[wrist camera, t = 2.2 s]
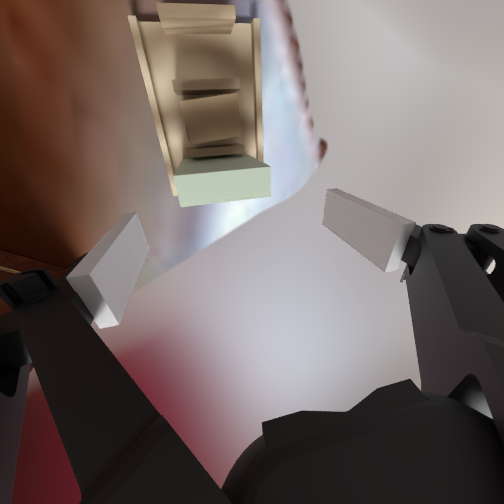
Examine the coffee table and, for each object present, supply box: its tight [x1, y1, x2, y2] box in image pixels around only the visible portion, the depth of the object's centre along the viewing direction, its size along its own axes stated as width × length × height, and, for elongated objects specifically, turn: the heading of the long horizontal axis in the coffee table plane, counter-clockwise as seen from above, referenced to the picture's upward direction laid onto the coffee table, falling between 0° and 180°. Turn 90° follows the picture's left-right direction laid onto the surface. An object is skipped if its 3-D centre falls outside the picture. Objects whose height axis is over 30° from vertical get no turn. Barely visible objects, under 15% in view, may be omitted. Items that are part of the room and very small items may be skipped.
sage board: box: [173, 153, 271, 207], centre depth 28 cm, size 3×10×14 cm, turn 93°
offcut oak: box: [179, 93, 243, 145], centre depth 26 cm, size 4×7×3 cm
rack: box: [128, 3, 263, 196], centre depth 28 cm, size 20×15×7 cm
